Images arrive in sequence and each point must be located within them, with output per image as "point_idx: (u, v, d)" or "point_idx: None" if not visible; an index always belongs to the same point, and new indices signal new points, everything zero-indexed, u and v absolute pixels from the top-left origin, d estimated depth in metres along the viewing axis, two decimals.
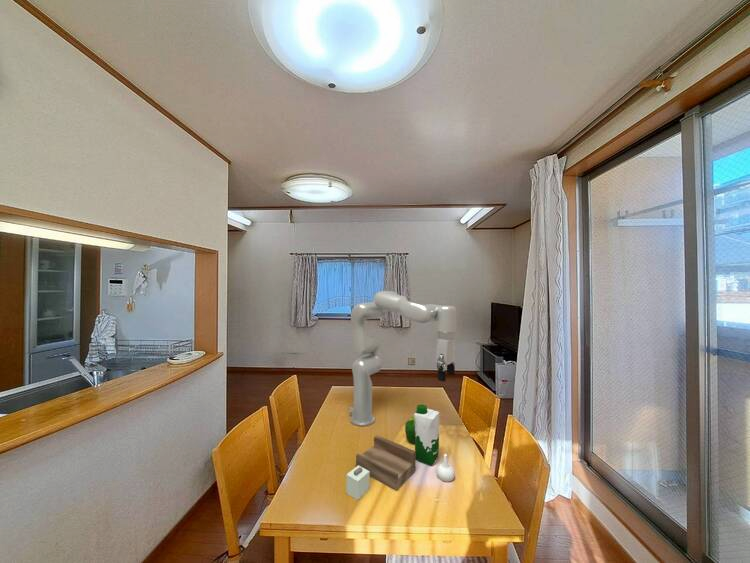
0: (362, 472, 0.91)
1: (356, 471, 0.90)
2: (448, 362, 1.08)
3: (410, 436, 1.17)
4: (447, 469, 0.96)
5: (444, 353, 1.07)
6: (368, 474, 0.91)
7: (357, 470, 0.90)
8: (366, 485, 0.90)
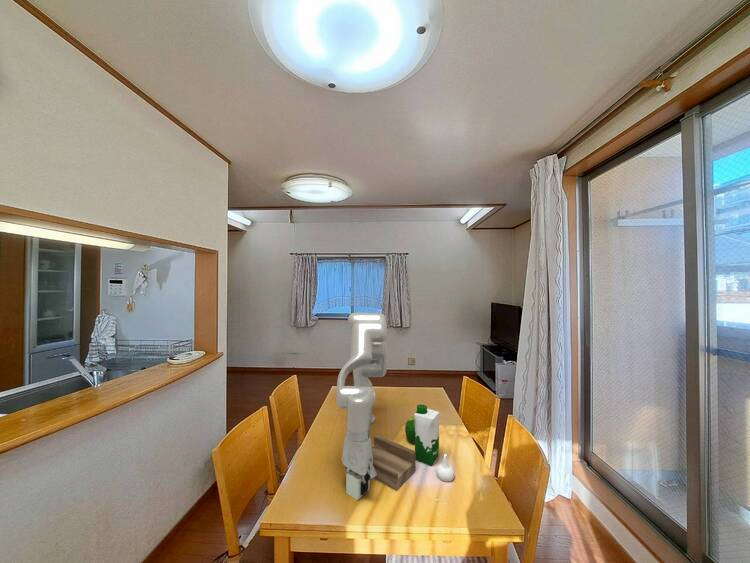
0: None
1: None
2: None
3: (410, 436, 1.17)
4: (447, 469, 0.96)
5: (371, 456, 0.88)
6: None
7: None
8: None
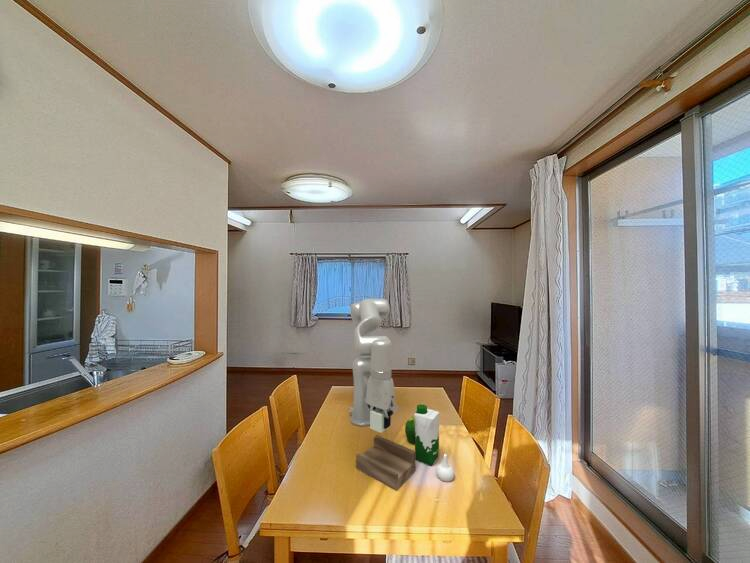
0: None
1: None
2: None
3: (410, 436, 1.17)
4: (447, 469, 0.96)
5: (393, 393, 0.97)
6: None
7: None
8: None
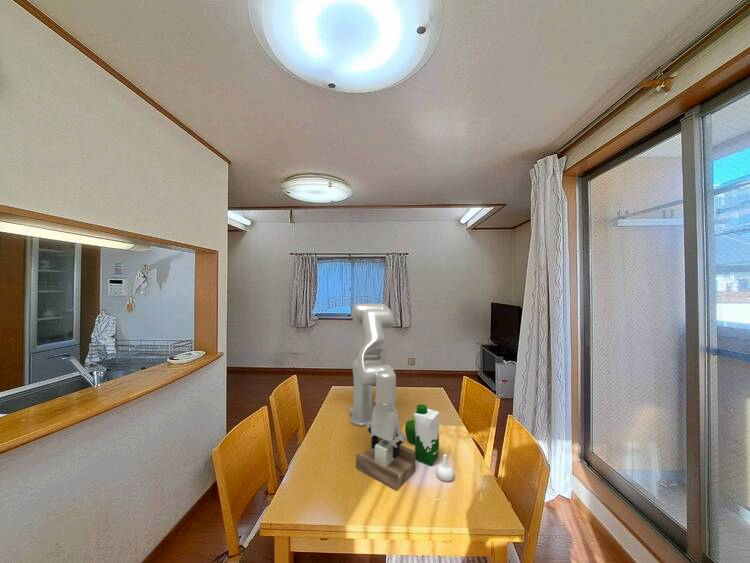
0: (388, 443, 1.01)
1: (383, 442, 1.00)
2: None
3: (410, 436, 1.17)
4: (447, 469, 0.96)
5: (398, 424, 0.99)
6: None
7: (384, 441, 1.01)
8: (392, 455, 1.00)
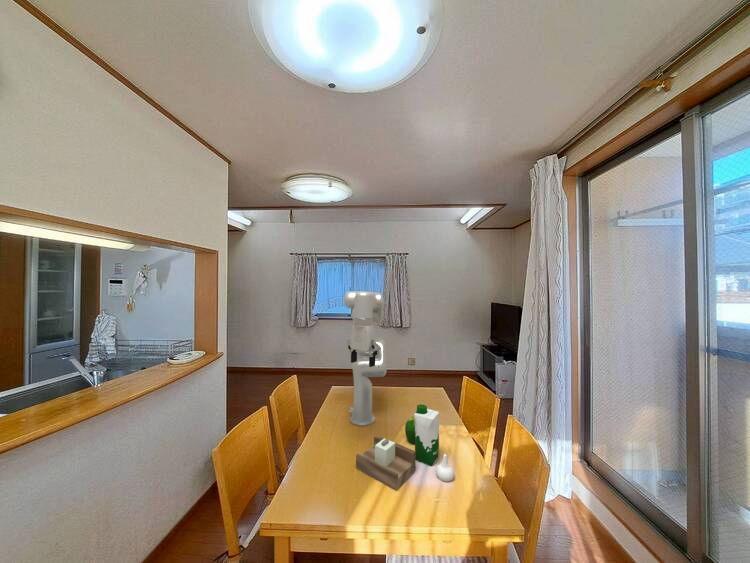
0: (388, 443, 1.01)
1: (383, 442, 1.00)
2: None
3: (410, 436, 1.17)
4: (447, 469, 0.96)
5: (374, 338, 1.09)
6: (394, 445, 1.01)
7: (384, 441, 1.01)
8: (392, 455, 1.00)
